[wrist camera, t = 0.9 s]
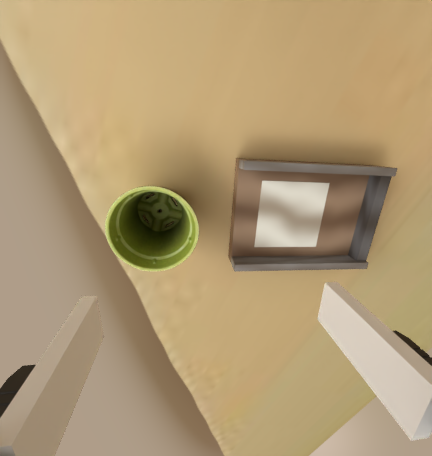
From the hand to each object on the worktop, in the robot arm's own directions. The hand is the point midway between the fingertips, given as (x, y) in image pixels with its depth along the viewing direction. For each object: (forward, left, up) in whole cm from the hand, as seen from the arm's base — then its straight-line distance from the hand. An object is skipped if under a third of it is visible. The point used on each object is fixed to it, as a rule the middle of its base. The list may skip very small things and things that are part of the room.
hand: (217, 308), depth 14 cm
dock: (0, +15, -21) cm, 26 cm away
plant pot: (0, -5, -21) cm, 22 cm away
